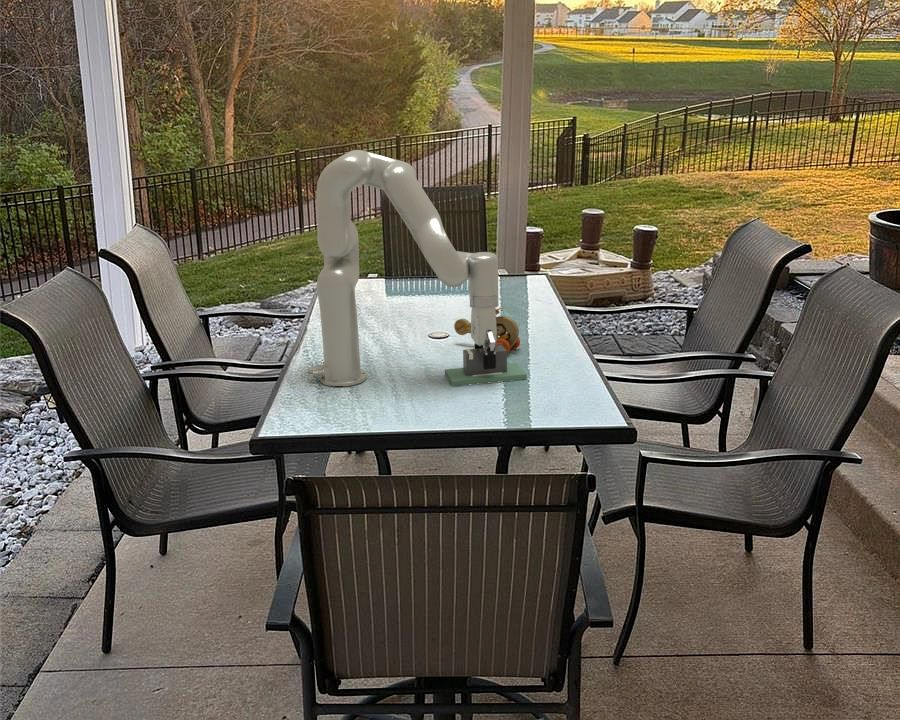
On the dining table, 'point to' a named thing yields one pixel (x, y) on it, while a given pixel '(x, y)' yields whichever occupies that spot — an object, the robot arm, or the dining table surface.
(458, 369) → the header board
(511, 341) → the toy helicopter
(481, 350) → the block
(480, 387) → the dining table surface
